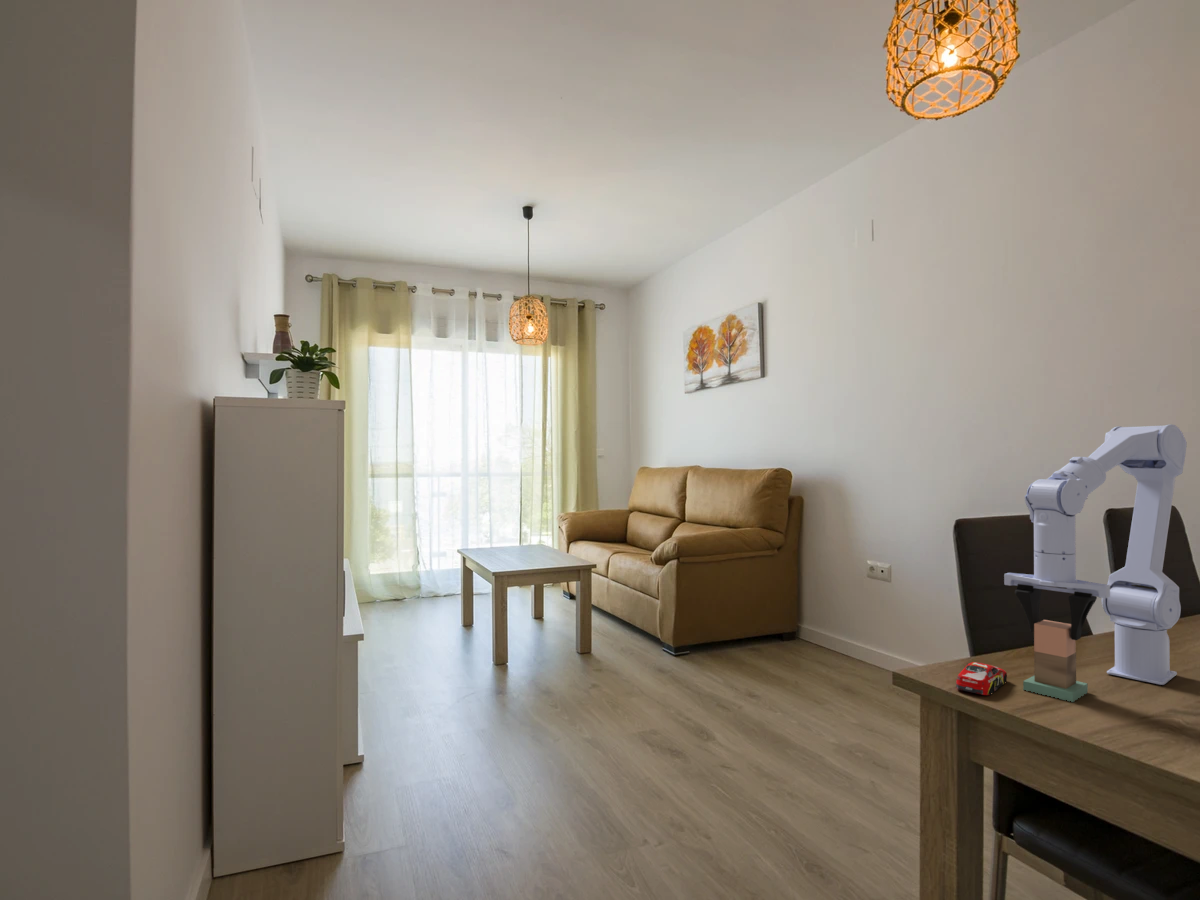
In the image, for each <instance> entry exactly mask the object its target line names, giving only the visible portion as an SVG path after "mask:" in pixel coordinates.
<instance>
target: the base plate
mask: <svg viewBox="0 0 1200 900" xmlns="http://www.w3.org/2000/svg"><path fill="white" fill-rule="evenodd" d="M1088 684H1089V683H1086V682H1082V681H1079V680H1076V683H1075V684H1074V685H1072V686H1070V687H1068V688H1067V689H1065V688H1061V687H1056V686H1052V685H1048V684H1044V683H1039V682H1035V675H1032V676H1030V677H1029V678H1027V679H1024V680H1023V682H1022V685H1023V686H1022V691H1024V690H1026V691H1025V692H1028V691H1031V692H1030V693H1033V692H1035V693H1034V694H1037V693H1038V694H1037V695H1041V694H1042V696H1045V695H1047V696H1046V697H1049V696H1051V697H1050V698H1053V697H1055V698H1054V699H1057V698H1059V699H1058V700H1061V701H1062V700H1063V701H1066V700H1067V702H1070V701H1071V702H1070V703H1074V702H1075V700H1076V701H1077V700H1079V699H1081V698H1082V697H1084V696H1085V695H1087V694H1088V693H1087V692H1088ZM1084 694H1085V695H1084ZM1081 696H1082V697H1081ZM1078 698H1079V699H1078Z"/></svg>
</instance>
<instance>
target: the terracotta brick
mask: <svg viewBox="0 0 1200 900" xmlns="http://www.w3.org/2000/svg"><path fill="white" fill-rule="evenodd" d="M1033 638H1034V639H1033V641H1034V642H1033V645H1034V647H1033V648H1034V651H1035V652H1040V653H1046V654H1051V655H1056V656H1061V657H1068V656H1070V655H1072V654H1074V653H1076V654H1077V651H1076V641H1077V640H1072V639H1071V623H1067V622H1061V621H1060V622H1059V621H1055V620H1054V621H1053V620H1048V619H1043V620H1040V622H1037V623H1035V624H1034V633H1033ZM1034 651H1033V652H1034Z"/></svg>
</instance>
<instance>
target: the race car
mask: <svg viewBox="0 0 1200 900" xmlns="http://www.w3.org/2000/svg"><path fill="white" fill-rule="evenodd" d="M1007 676H1008V674H1007V672H1006V670H1005V669H1003V668H1000V667H998V666H996V665H995V666H994V665H991V664H987V663H983V662H975V661H972V662H971V661H970V662H969V663H966V665H965V667H964V668H963V669H962V670H961V671H960V672H959V673H958V674H957V676H956V677H957V678H956V681H955V682H956V683H955V685H956V686H955V688H956V689H957V690H959V691H964V692H969V693H973V694H976V695H981V696H990V695H991V693H993V694H994V692H996V691H997V690H998V689H999V688H1001V687H1003V685H1005V684H1006V683H1007V678H1008V677H1007ZM1005 682H1006V683H1005ZM1004 683H1005V684H1004ZM991 696H992V695H991Z"/></svg>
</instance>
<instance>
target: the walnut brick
mask: <svg viewBox="0 0 1200 900" xmlns="http://www.w3.org/2000/svg"><path fill="white" fill-rule="evenodd" d="M1033 652H1034V653H1033V654H1034V657H1033V658H1034V663H1033V664H1034V666H1033V667H1034V675H1035V682H1039V683H1044V684H1048V685H1052V686H1056V687H1061V688H1065V689H1067V688H1068V687H1070V686H1072V685H1074V684H1075V683H1076V681H1077V652H1076V653H1074V654H1072V655H1070V656H1068V657H1061V656H1056V655H1051V654H1046V653H1040V652H1035V651H1033ZM1034 675H1033V676H1034Z"/></svg>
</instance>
